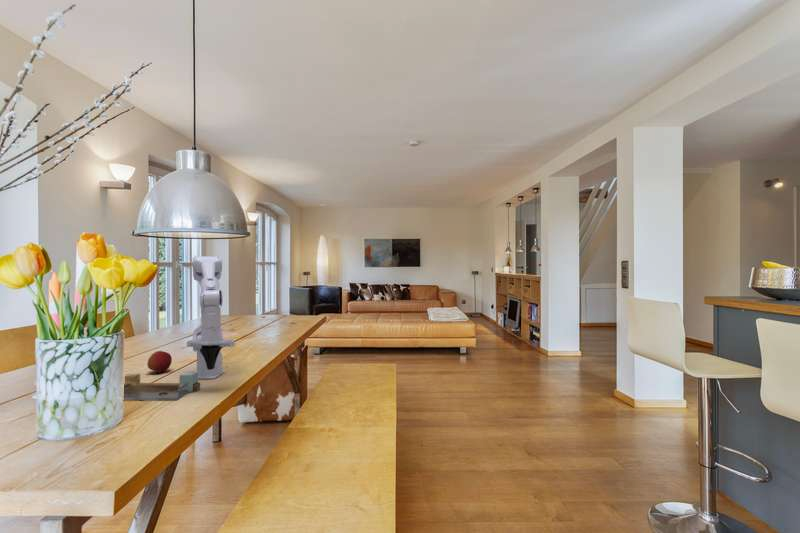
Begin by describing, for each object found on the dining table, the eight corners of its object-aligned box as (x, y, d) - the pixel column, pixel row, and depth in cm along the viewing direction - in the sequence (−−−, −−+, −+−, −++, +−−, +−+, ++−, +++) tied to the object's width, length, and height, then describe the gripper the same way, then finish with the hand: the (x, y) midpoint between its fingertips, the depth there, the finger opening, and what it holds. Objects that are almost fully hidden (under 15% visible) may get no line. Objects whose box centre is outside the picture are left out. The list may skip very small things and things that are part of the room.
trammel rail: (126, 388, 132) (126, 373, 132) (200, 388, 133) (200, 373, 133) (109, 397, 124) (109, 380, 124) (188, 396, 125) (188, 380, 125)
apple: (175, 372, 152) (175, 350, 152) (151, 376, 146) (151, 354, 146) (167, 368, 157) (167, 347, 157) (144, 372, 151) (144, 351, 151)
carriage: (186, 387, 133) (186, 371, 133) (198, 387, 133) (198, 371, 133) (172, 396, 125) (172, 379, 125) (185, 396, 125) (185, 379, 125)
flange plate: (117, 392, 128) (117, 390, 128) (188, 392, 129) (188, 390, 129) (102, 400, 121) (102, 397, 121) (176, 400, 122) (176, 397, 122)
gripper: (182, 329, 127) (182, 372, 127) (228, 329, 127) (228, 372, 127) (192, 325, 134) (192, 366, 134) (237, 325, 134) (237, 366, 134)
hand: (211, 368), depth 131 cm, fingers closed
